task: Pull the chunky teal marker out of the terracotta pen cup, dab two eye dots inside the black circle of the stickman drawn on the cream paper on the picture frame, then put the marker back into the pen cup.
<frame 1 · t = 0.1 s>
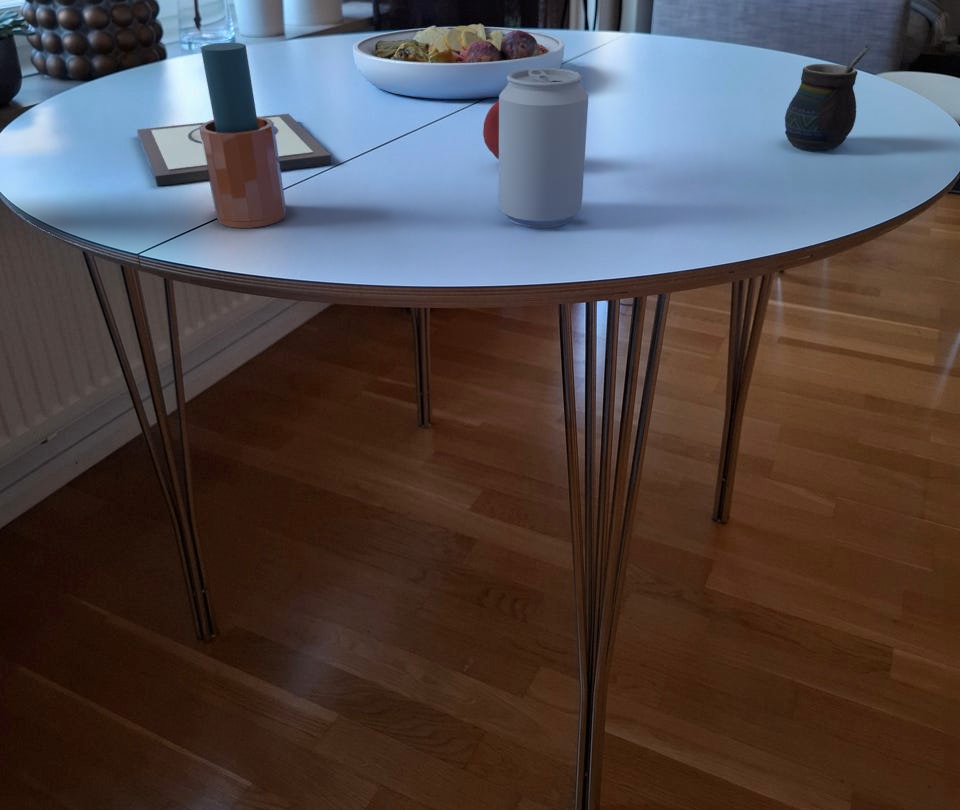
mate gourd: (813, 148, 96), on the table
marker: (250, 210, 78), point 1 cm above the table, touching pen cup
can: (539, 218, 78), on the table
pen cup: (251, 216, 79), on the table
bowl: (459, 82, 125), on the table
picture frame: (230, 150, 96), on the table
onion: (511, 169, 91), on the table
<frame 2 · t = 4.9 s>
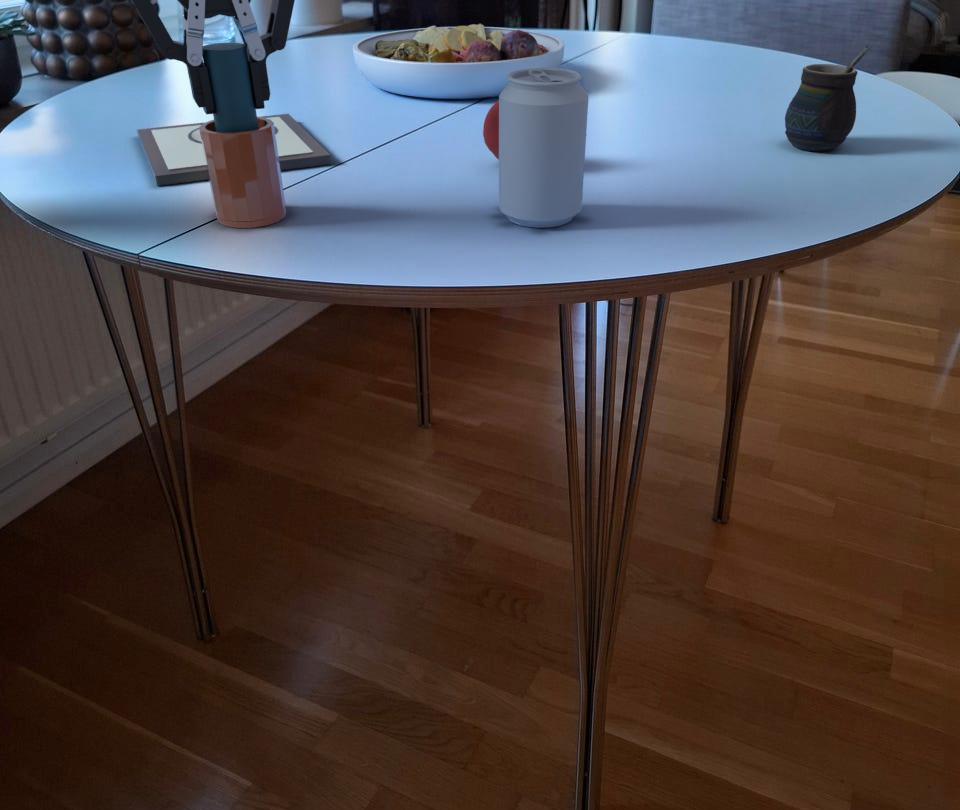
hand: (233, 108, 73), 9 cm above the table, tool pointing down, fingers closed on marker, 3 cm apart
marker: (251, 209, 78), point 1 cm above the table, touching gripper, pen cup
everything else where it was.
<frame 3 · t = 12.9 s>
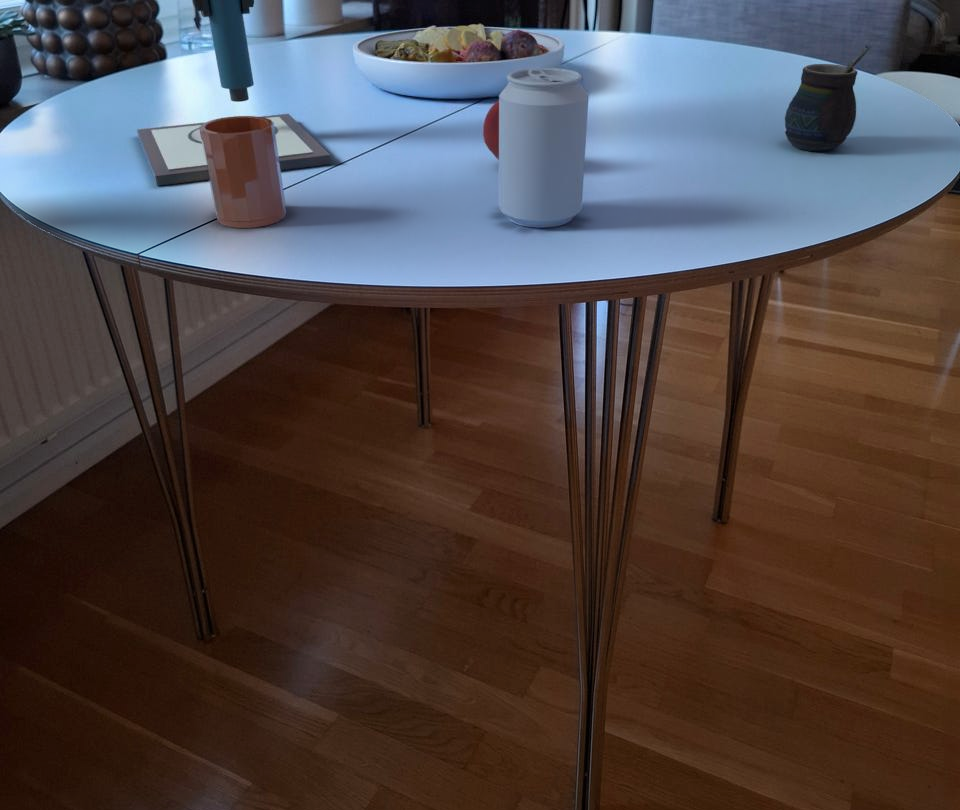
hand: (225, 13, 93), 13 cm above the table, tool pointing down, fingers closed on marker, 3 cm apart
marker: (240, 99, 98), point 4 cm above the table, touching gripper
everything else where it was.
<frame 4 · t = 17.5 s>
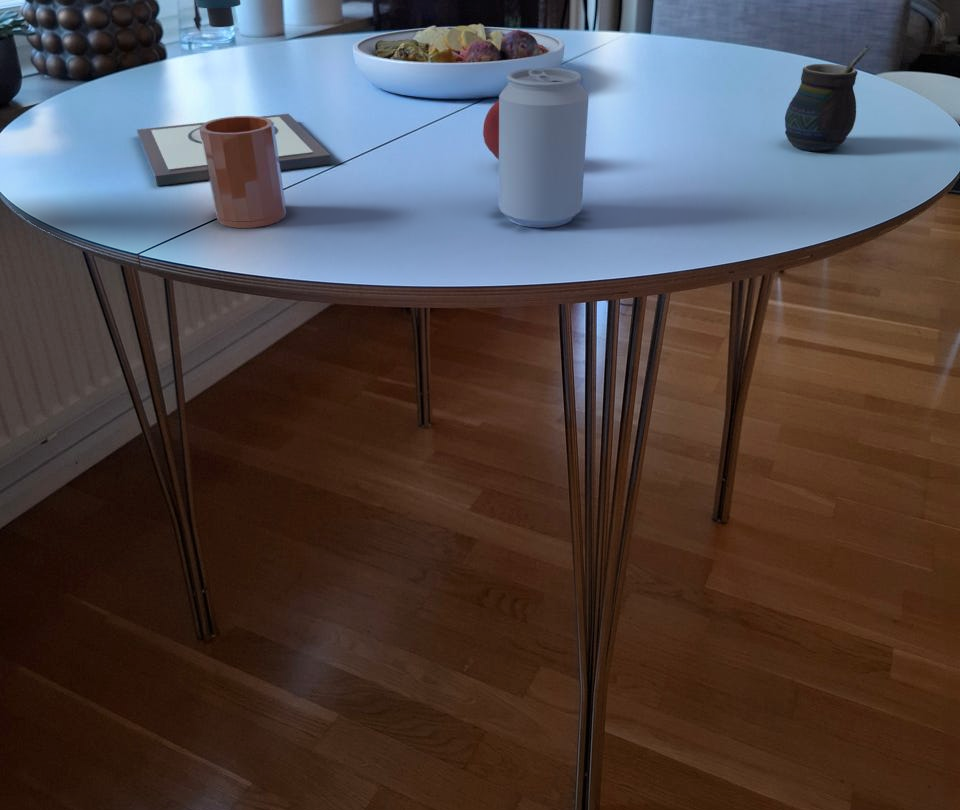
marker: (222, 25, 72), point 15 cm above the table, touching gripper
everything else where it was.
when the fingers open (9 cm above the table, at t = 21.2 s): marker stays where it is, resting on pen cup.
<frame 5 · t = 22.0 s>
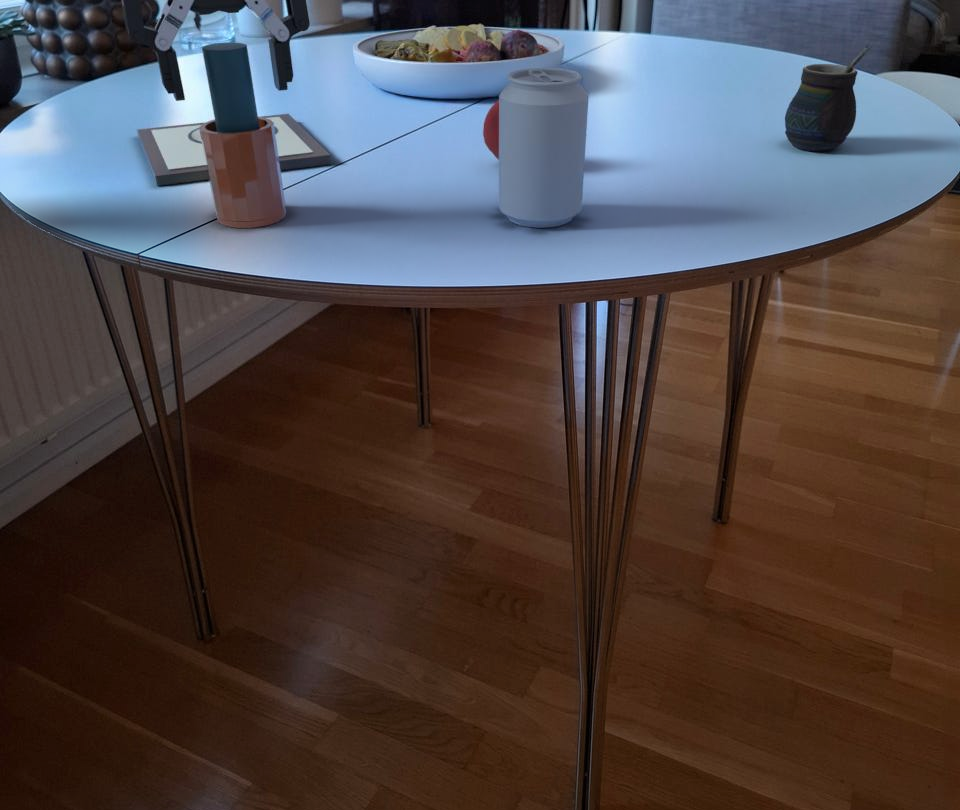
hand: (231, 93, 73), 10 cm above the table, tool pointing down, fingers open, 8 cm apart
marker: (251, 209, 78), point 1 cm above the table, touching pen cup
everything else where it was.
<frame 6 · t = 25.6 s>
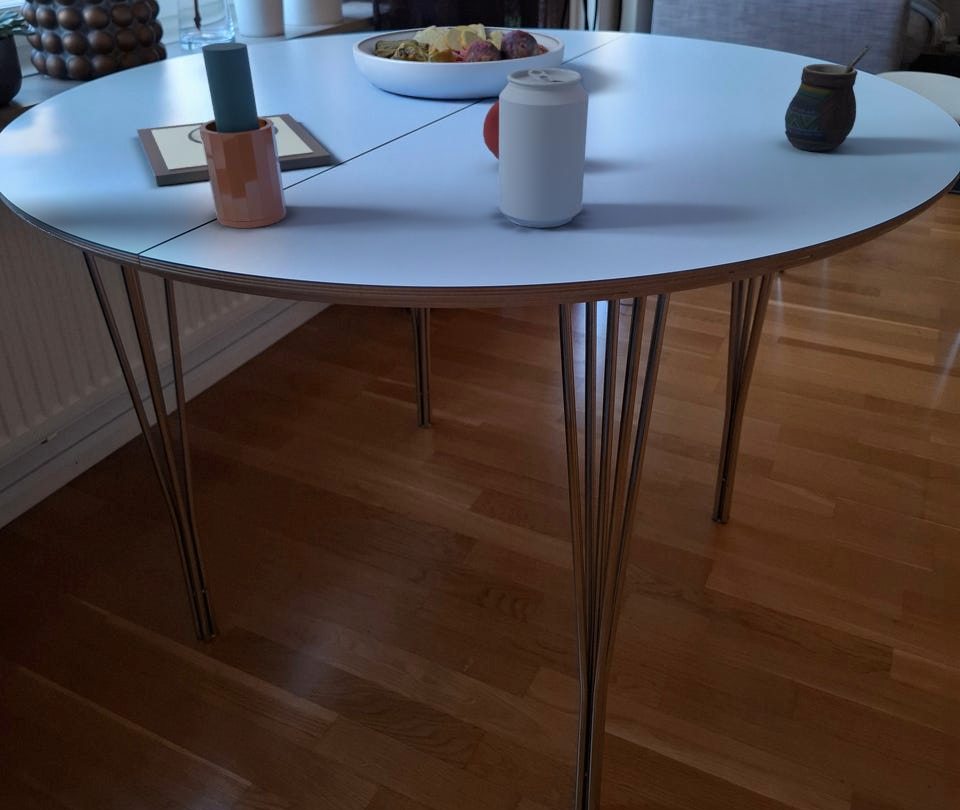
nothing on the table moved.
at the end: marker 0.1 cm off-centre in the pen cup, point 0.6 cm above the pen cup's base; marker tilted 0°; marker touching pen cup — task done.
